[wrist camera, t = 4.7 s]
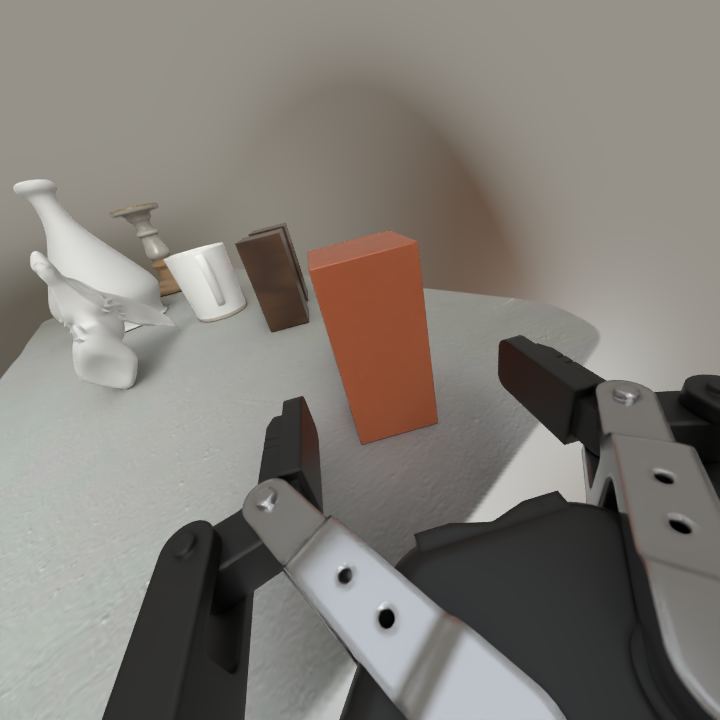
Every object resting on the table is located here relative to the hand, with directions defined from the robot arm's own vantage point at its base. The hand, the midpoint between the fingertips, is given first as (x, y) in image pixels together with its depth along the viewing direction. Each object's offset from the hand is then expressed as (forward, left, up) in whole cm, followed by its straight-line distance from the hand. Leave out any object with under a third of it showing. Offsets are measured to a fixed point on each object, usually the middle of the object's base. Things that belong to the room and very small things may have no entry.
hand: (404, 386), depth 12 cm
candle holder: (+42, -78, -7) cm, 89 cm away
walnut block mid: (+8, -29, -7) cm, 31 cm away
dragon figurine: (+28, -26, -7) cm, 39 cm away
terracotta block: (0, -6, -7) cm, 9 cm away
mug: (+20, -41, -7) cm, 47 cm away
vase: (+43, -53, -7) cm, 69 cm away
